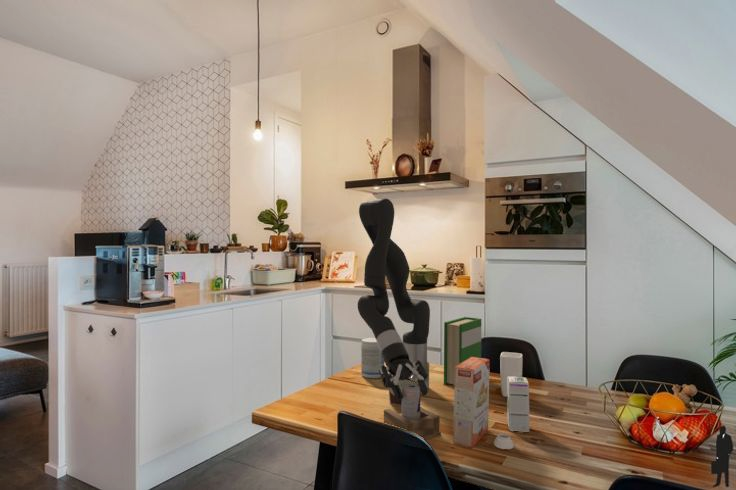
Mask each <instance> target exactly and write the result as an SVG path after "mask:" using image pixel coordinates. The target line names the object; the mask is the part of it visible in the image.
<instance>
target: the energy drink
mask: <svg viewBox="0 0 736 490" xmlns="http://www.w3.org/2000/svg"><path fill="white" fill-rule="evenodd" d="M402 394H403V398H402V406H401V414H400V415H401V416H402V417H404V418H406V419H407V420H414V419H418V418H420V407H421V391H420V387H419V386H418V385H415V384H406V385H403V387H402Z"/></svg>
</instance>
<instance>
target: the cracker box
mask: <svg viewBox="0 0 736 490" xmlns="http://www.w3.org/2000/svg"><path fill="white" fill-rule="evenodd" d="M490 361H491V360H490V359H488V358H484V357H483V358H482V357H481V358H477V357H471V358H469V359H467V360H466V361H464V362H462V363H461V364H459V365H457V366H456V367H455V385H454V392H453V394H454V396H453V435H452V436H453V440H452V441H453V443H454V444H458V445H461V446H465V447H467V448H468V447H469V448H472V447H473V448H474V447H475V446H476V445H477V443H478V442H479V441H480V440H481V439H482V438H483V437H484V435H485V434H487V432H488V431H489V411H490V407H489V405H490V402H489V401H490V368H491V367H490Z"/></svg>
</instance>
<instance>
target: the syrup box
mask: <svg viewBox="0 0 736 490" xmlns="http://www.w3.org/2000/svg"><path fill="white" fill-rule="evenodd" d="M529 392H530V383H529V381H528V379H527V377H524V376H522V377H516V376H512V377H507V397H506V399H507V400H506V401H507V402H506V403H507V405H506V407H507V408H506V412H507V413H506V414H507V415H506V419H507V420H506V423H507V426H508V427H509V428H508V431H509V430H510V431H509V432H513V431H522V432H521V433H523V432H529V433H530V393H529Z"/></svg>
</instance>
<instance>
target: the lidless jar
mask: <svg viewBox="0 0 736 490" xmlns="http://www.w3.org/2000/svg"><path fill="white" fill-rule="evenodd" d="M510 436H511V435H510V434H507V433H502V432H501V433H500V432H499V433H498V434H497V436H496V438H495V439H494V441H493V445H494V447H496V448H497V449H501V450H504V449H508V450H512V449H514V447H515V444H514V442H513V440H512V439H511V437H510Z"/></svg>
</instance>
